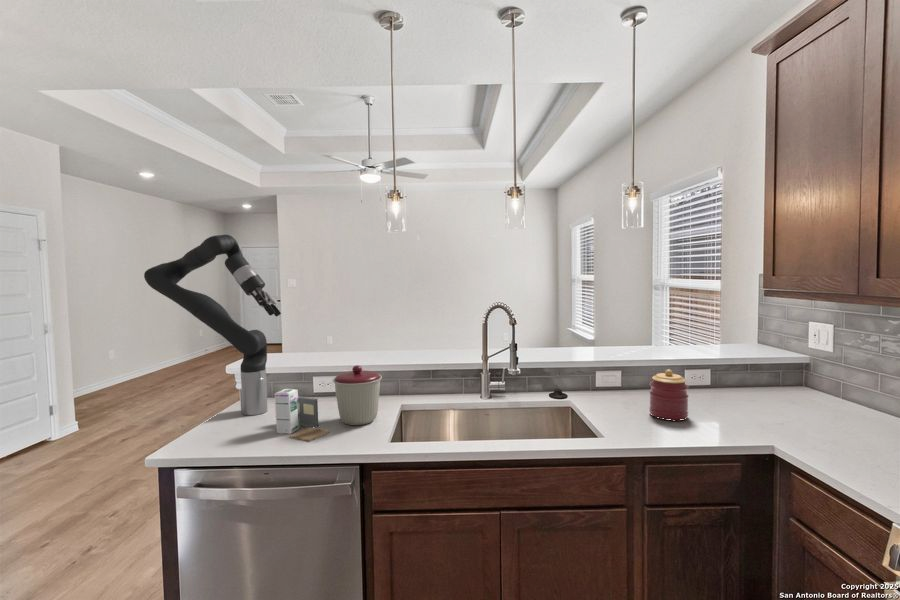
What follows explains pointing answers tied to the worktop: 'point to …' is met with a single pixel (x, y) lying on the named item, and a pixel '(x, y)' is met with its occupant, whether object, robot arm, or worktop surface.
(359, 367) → the canister
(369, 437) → the worktop surface
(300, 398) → the label board
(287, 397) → the syrup box
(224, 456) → the worktop surface
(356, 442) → the worktop surface
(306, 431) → the coaster
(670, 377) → the canister
